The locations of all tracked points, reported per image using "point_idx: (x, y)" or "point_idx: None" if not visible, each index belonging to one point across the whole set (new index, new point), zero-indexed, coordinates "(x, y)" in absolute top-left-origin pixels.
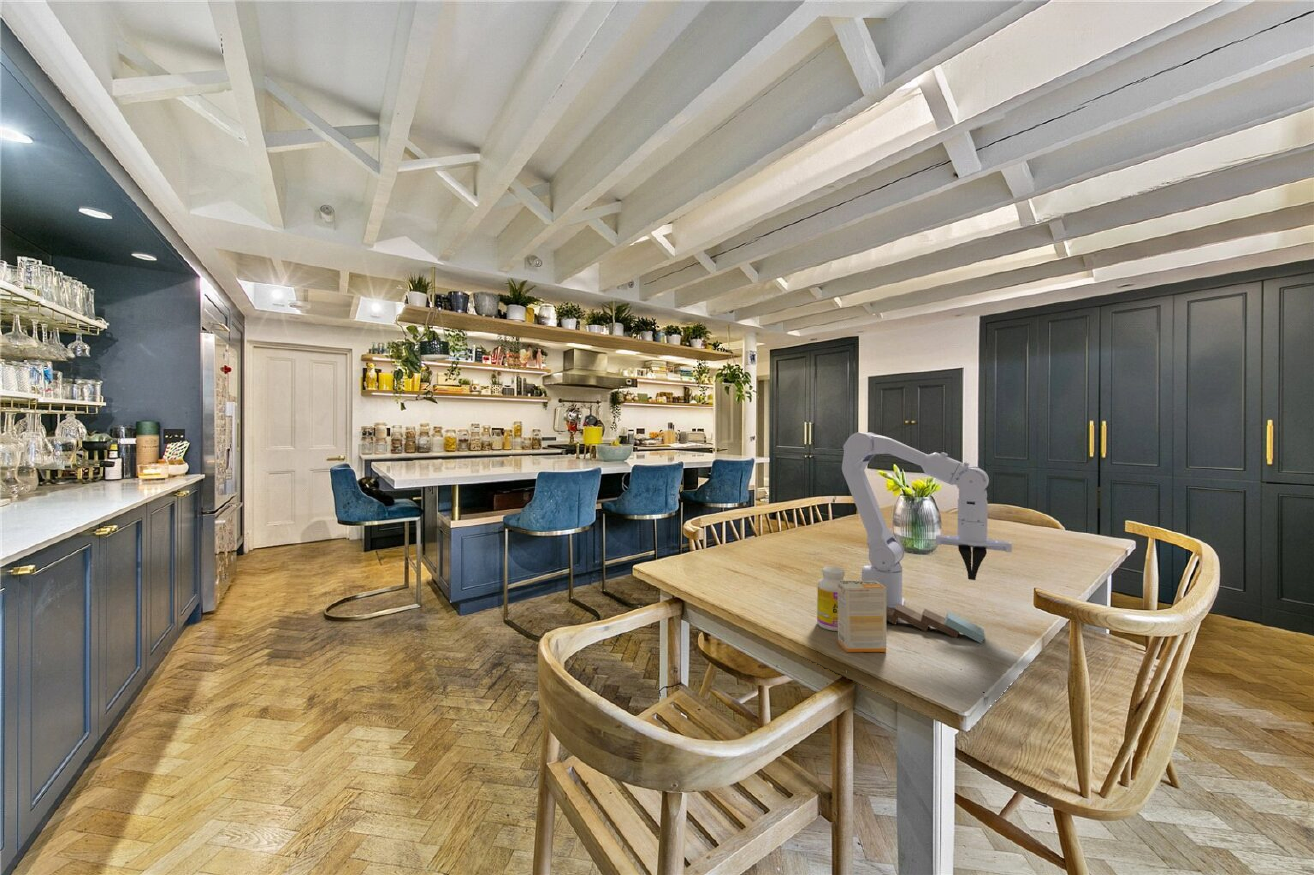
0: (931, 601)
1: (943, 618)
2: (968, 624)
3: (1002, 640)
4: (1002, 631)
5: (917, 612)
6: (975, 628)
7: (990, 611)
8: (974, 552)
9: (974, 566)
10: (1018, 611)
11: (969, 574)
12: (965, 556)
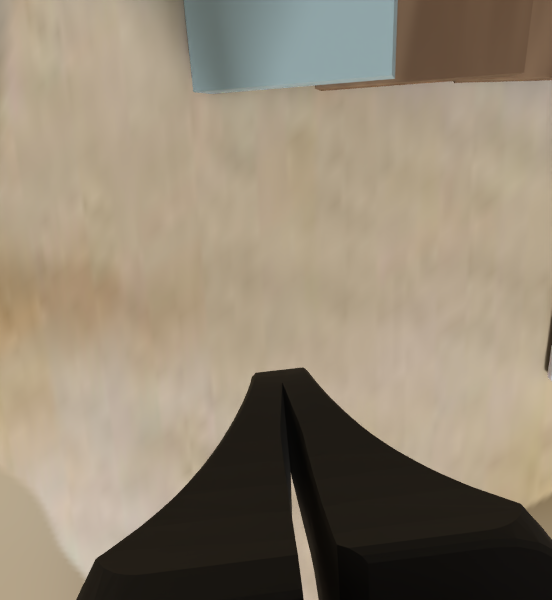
0: (429, 439)
1: (403, 58)
2: (269, 24)
3: (113, 91)
4: (129, 230)
5: (542, 77)
6: (230, 19)
7: (199, 461)
8: (284, 556)
9: (267, 436)
10: (103, 524)
11: (305, 381)
12: (409, 487)
